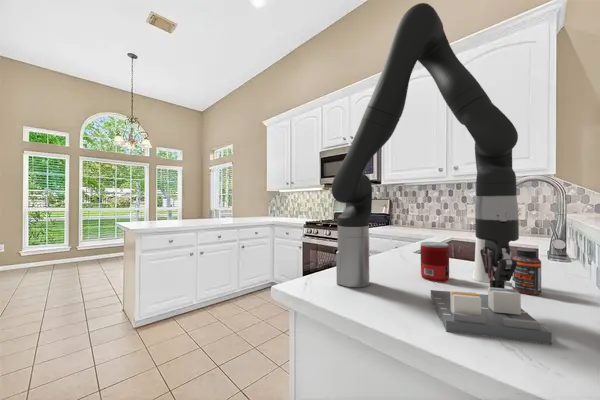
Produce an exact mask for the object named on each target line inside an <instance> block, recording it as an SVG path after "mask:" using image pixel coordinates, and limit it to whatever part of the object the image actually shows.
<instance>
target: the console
mask: <svg viewBox="0 0 600 400" xmlns="http://www.w3.org/2000/svg"><path fill="white" fill-rule="evenodd" d="M478 294H479V297H480V298H481V315H473V314H464V313H454V312H453V314H452V312H451V299H450V291H448V290H447V291H446V290H436V289H435V290H434V289H430V300H431V301H432V304H433V306H434V308H435V309H436V313H437V314H438V316H439V318H440V321H441V323H442V325H443V327H444V329H445V331H446V332H448V333H457V334H464V335H472V336H473V335H474V336H482V337H487V338H488V337H490V338H497V339H505V340H506V339H507V340H514V341H521V342H529V343H536V342H537V344H547V345H553V333H552V331H551V330H549V329H548V328H547V327H546V326H544V325H543V324H541V323H540V322H539V321H538V320H537V319H535V318H534V317H533V316H531V314H529V312H527V311H525V310H524V309H523V308H521V315H519V314H509V313H499V312H493V311H492V310H491V309H490V308H489V307H488V294H482V293H478Z"/></svg>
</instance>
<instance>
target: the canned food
mask: <svg viewBox="0 0 600 400" xmlns="http://www.w3.org/2000/svg"><path fill="white" fill-rule="evenodd" d="M420 276H421V278H423V279H424V280H427V281H430V282H439V283H441V282H442V283H443V282H447V281H449V278H450V246H449V244H448V243H446V242H442V241H441V242H440V241H438V242H437V241H423V242H420Z"/></svg>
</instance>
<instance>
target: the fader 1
mask: <svg viewBox="0 0 600 400" xmlns="http://www.w3.org/2000/svg"><path fill="white" fill-rule="evenodd" d="M449 292H450V299H451V312H452V314H453V312H454V313H464V314H473V315H481V298H480V297H479V294H480V293H477V292H470V291H469V292H468V291H457V290H450V291H449Z"/></svg>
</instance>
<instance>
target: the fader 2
mask: <svg viewBox="0 0 600 400" xmlns="http://www.w3.org/2000/svg"><path fill="white" fill-rule="evenodd" d="M521 294H522V293H520V292H518V291H517V290H514V289H513V288H505V289H504V288H491V287H490V286H489V287H488V288H487V295H488V307H489V308H490V309H491V310H492V311H493V312H499V313H509V314H519V315H521V309H522V304H521V303H522V300H521V299H522V298H521V297H522V296H521Z"/></svg>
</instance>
